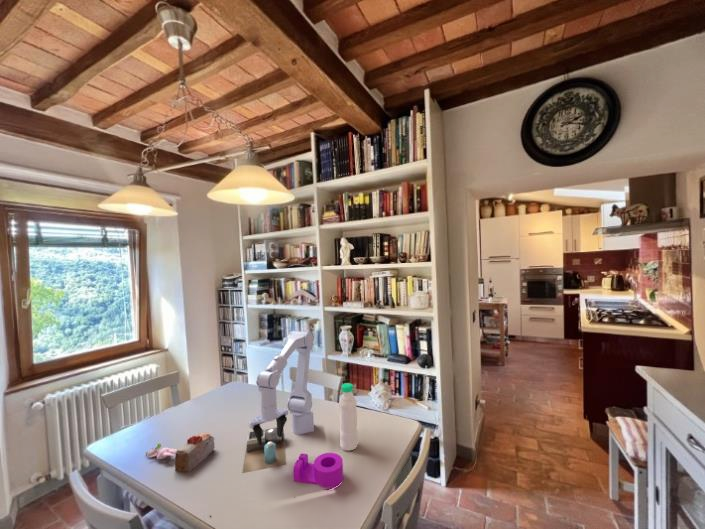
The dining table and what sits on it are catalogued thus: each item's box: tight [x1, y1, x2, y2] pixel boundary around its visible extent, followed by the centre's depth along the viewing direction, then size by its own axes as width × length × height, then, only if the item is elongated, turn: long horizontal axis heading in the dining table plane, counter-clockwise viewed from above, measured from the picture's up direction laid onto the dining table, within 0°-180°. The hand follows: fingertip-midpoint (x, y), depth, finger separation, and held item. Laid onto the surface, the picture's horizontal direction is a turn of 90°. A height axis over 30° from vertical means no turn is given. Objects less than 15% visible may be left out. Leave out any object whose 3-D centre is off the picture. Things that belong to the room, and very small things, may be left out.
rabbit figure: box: [145, 442, 178, 460], centre depth 115 cm, size 6×6×15 cm
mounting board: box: [242, 437, 287, 474], centre depth 115 cm, size 15×20×1 cm
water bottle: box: [338, 382, 359, 451], centre depth 119 cm, size 7×7×25 cm
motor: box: [246, 426, 285, 452], centre depth 120 cm, size 14×7×6 cm, turn 105°
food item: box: [174, 431, 216, 473], centre depth 112 cm, size 14×8×10 cm, turn 169°
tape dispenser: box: [292, 452, 344, 490], centre depth 102 cm, size 16×10×6 cm, turn 78°
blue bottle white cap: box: [264, 441, 276, 464], centre depth 110 cm, size 4×4×6 cm
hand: (269, 440), depth 110 cm, fingers open, 7 cm apart
